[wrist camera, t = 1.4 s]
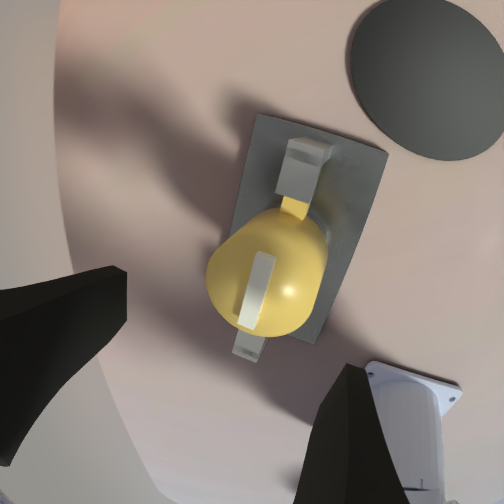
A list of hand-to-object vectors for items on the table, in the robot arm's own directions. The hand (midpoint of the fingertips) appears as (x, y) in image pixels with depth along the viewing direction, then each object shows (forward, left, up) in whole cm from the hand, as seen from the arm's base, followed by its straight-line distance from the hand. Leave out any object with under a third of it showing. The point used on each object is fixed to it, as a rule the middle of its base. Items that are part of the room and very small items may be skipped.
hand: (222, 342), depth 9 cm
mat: (+11, -5, -10) cm, 15 cm away
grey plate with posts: (0, 0, -10) cm, 10 cm away
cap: (0, 0, -7) cm, 7 cm away
